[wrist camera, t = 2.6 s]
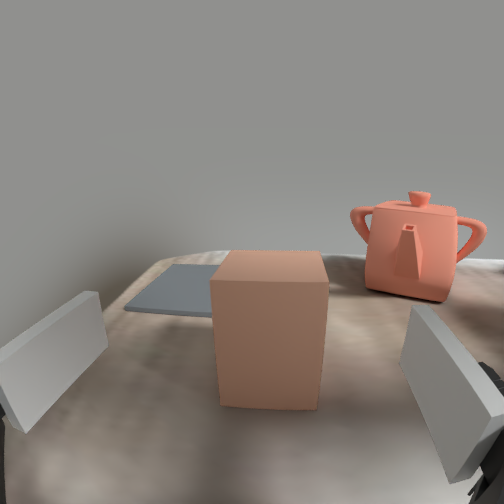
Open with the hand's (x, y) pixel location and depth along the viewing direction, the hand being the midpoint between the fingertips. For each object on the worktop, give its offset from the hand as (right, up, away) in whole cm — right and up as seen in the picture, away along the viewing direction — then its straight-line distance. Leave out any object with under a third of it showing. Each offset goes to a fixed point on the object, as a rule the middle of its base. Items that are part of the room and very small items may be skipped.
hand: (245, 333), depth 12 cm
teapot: (+23, -2, +30) cm, 38 cm away
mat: (-6, -2, +32) cm, 33 cm away
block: (+2, -7, +12) cm, 14 cm away
